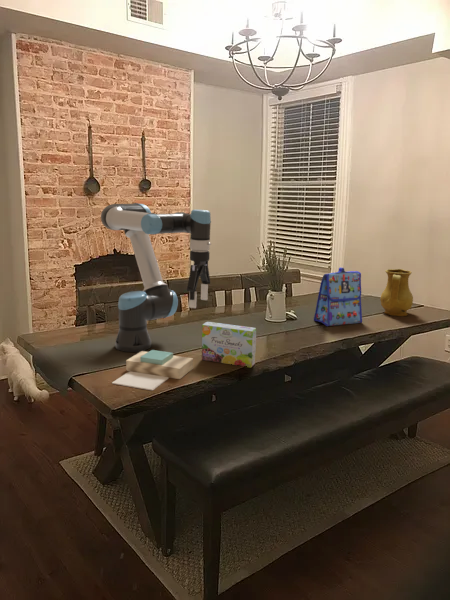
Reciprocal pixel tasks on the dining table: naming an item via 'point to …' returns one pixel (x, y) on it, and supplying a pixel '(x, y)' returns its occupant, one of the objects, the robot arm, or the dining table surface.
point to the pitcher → (397, 293)
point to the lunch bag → (339, 299)
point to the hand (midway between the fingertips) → (198, 303)
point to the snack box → (229, 344)
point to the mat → (140, 380)
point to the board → (161, 366)
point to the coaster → (156, 357)
